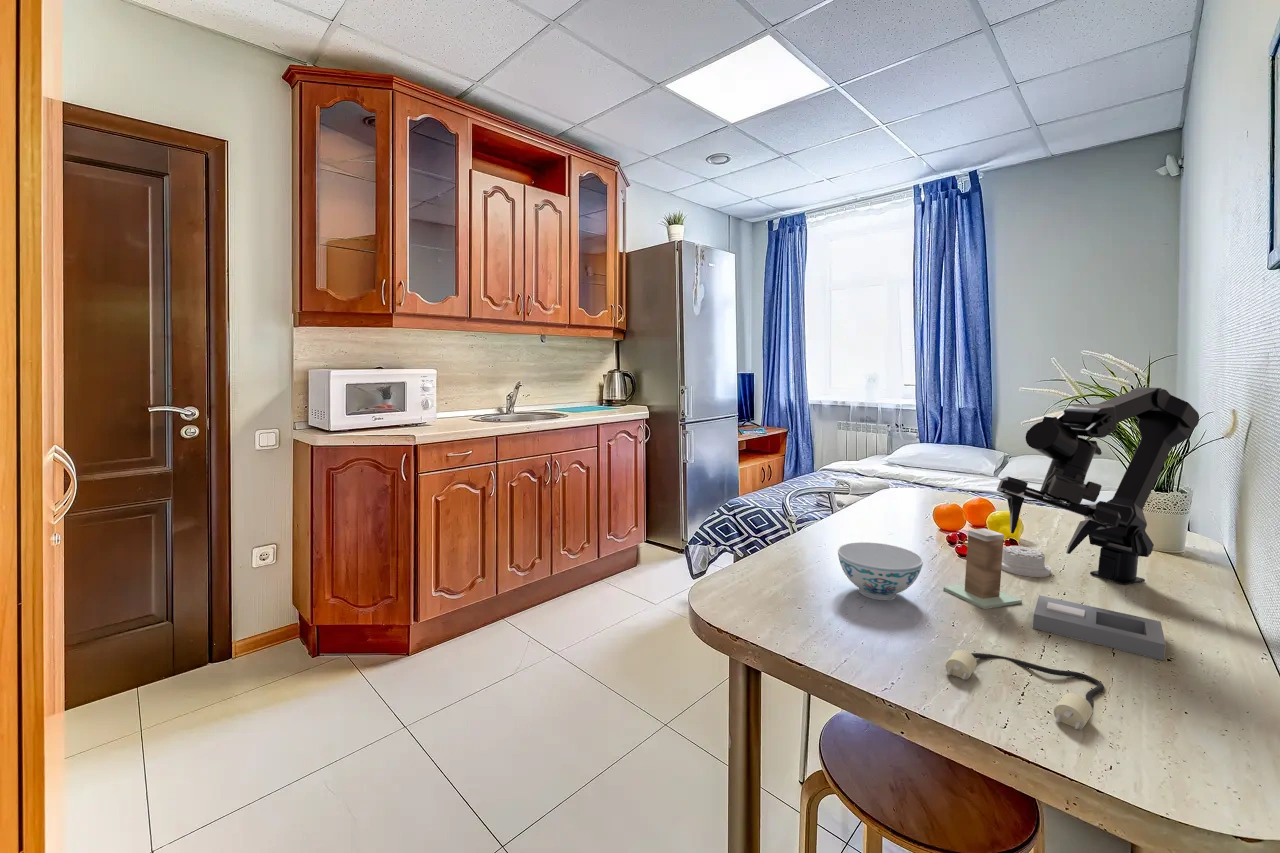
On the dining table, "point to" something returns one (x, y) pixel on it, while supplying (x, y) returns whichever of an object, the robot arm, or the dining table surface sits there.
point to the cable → (1071, 705)
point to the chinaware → (879, 568)
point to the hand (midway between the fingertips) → (1039, 543)
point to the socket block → (1100, 626)
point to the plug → (984, 563)
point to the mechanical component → (1024, 561)
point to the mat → (985, 603)
